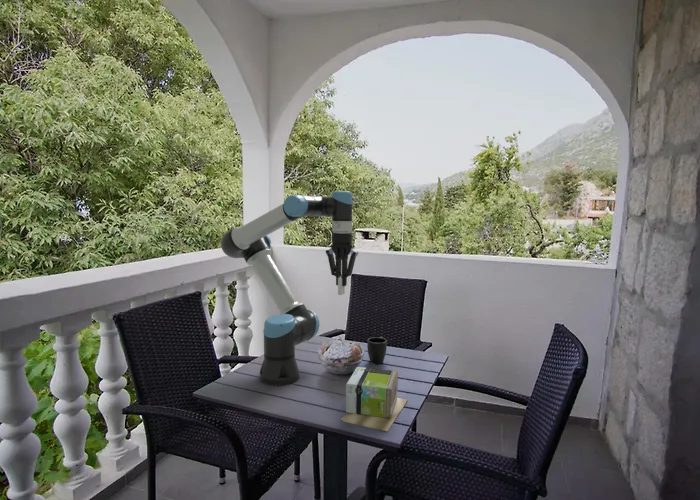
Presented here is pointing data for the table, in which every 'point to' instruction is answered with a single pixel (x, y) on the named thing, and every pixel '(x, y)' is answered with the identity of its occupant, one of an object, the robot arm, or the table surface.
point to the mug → (377, 349)
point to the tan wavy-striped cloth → (376, 418)
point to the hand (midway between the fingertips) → (341, 294)
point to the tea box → (372, 392)
